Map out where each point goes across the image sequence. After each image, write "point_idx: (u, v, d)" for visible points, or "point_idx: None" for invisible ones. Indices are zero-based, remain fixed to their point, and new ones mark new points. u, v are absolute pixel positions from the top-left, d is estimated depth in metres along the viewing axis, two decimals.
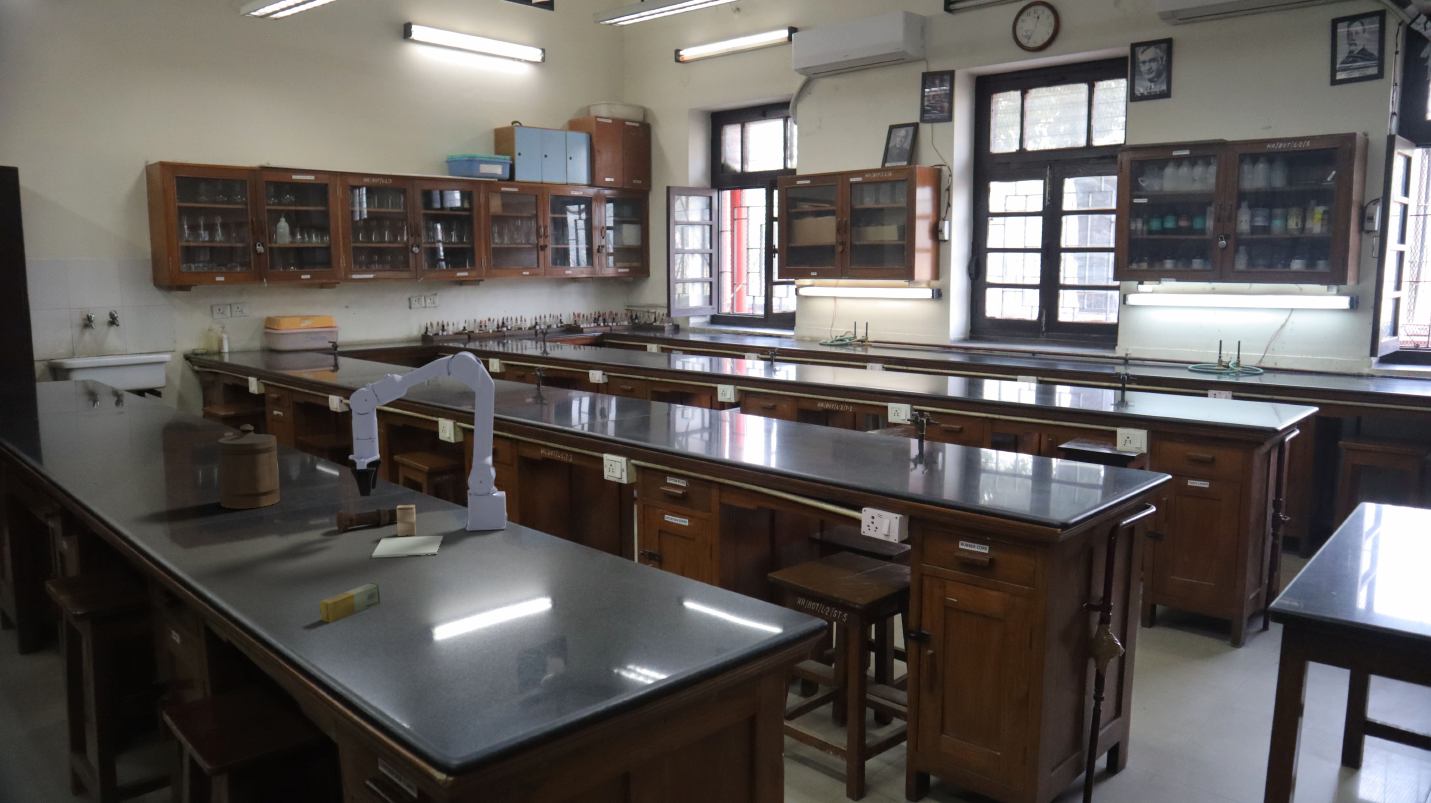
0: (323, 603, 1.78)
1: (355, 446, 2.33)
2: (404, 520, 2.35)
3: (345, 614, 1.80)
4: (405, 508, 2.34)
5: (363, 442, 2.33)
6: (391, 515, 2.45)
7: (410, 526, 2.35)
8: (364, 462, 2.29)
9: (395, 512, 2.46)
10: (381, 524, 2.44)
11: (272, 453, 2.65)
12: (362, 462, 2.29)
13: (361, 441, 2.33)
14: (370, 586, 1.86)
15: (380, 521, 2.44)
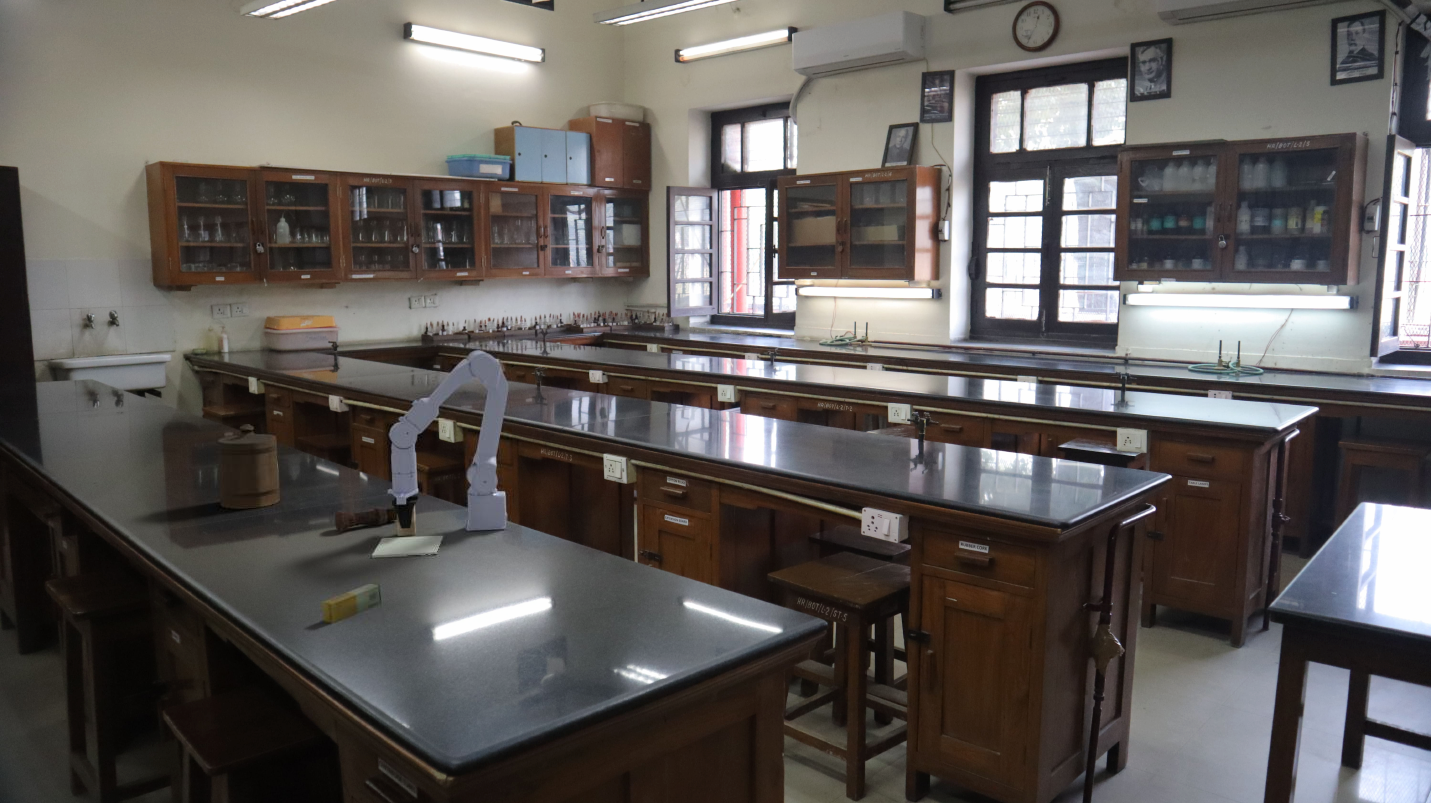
0: (326, 604, 1.77)
1: (394, 481, 2.32)
2: None
3: (347, 614, 1.80)
4: None
5: (403, 476, 2.32)
6: (389, 514, 2.46)
7: None
8: (404, 497, 2.28)
9: (393, 511, 2.47)
10: (380, 523, 2.44)
11: (272, 453, 2.65)
12: (402, 497, 2.28)
13: (400, 476, 2.32)
14: (371, 586, 1.86)
15: (379, 520, 2.44)
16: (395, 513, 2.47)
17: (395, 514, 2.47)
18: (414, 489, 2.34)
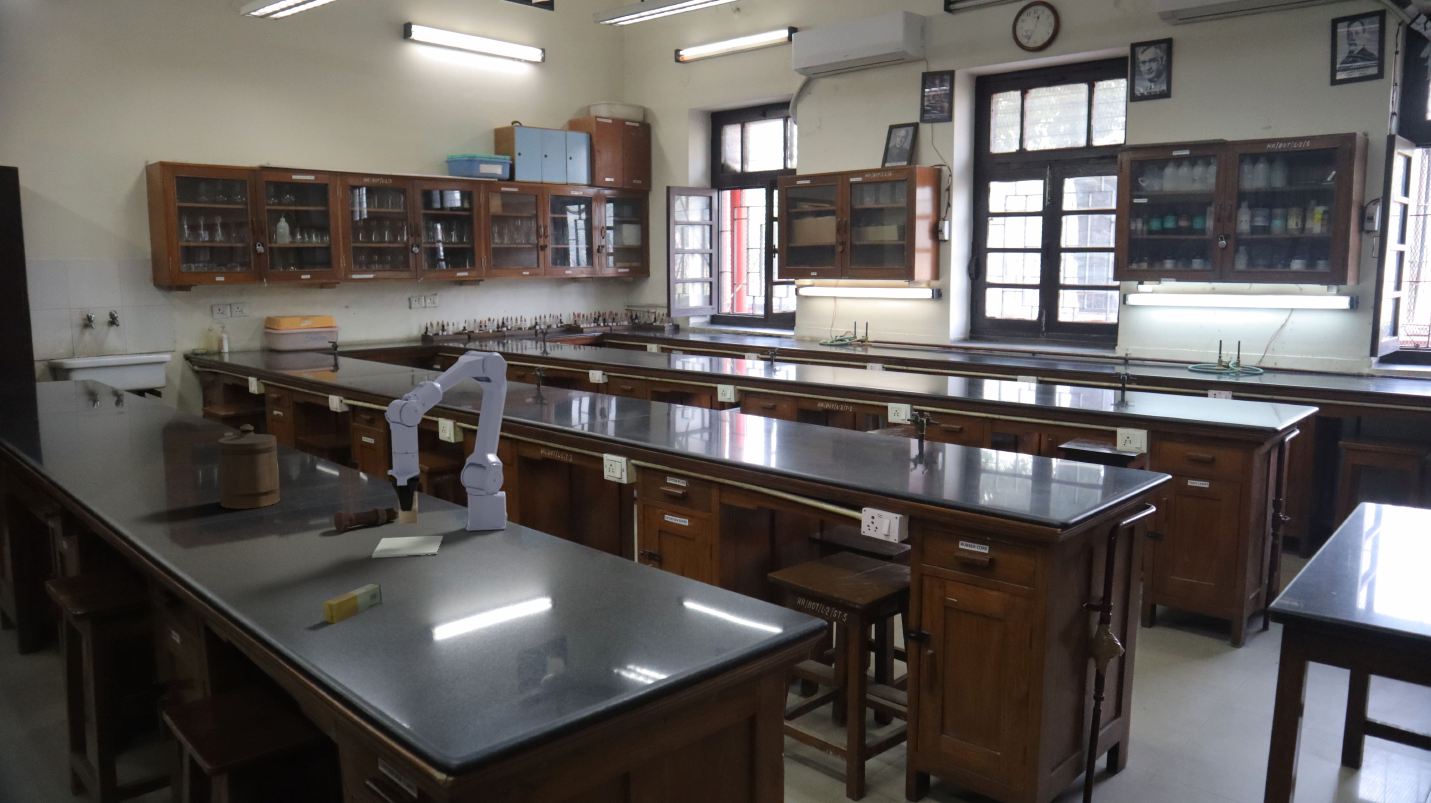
0: (327, 604, 1.77)
1: (395, 461, 2.21)
2: None
3: (348, 614, 1.80)
4: None
5: (403, 456, 2.20)
6: (388, 514, 2.46)
7: (412, 514, 2.24)
8: (405, 478, 2.17)
9: (392, 511, 2.47)
10: (379, 523, 2.45)
11: (272, 453, 2.65)
12: (403, 478, 2.17)
13: (401, 455, 2.20)
14: (372, 586, 1.86)
15: (378, 520, 2.44)
16: (394, 513, 2.47)
17: (394, 514, 2.47)
18: (415, 470, 2.23)
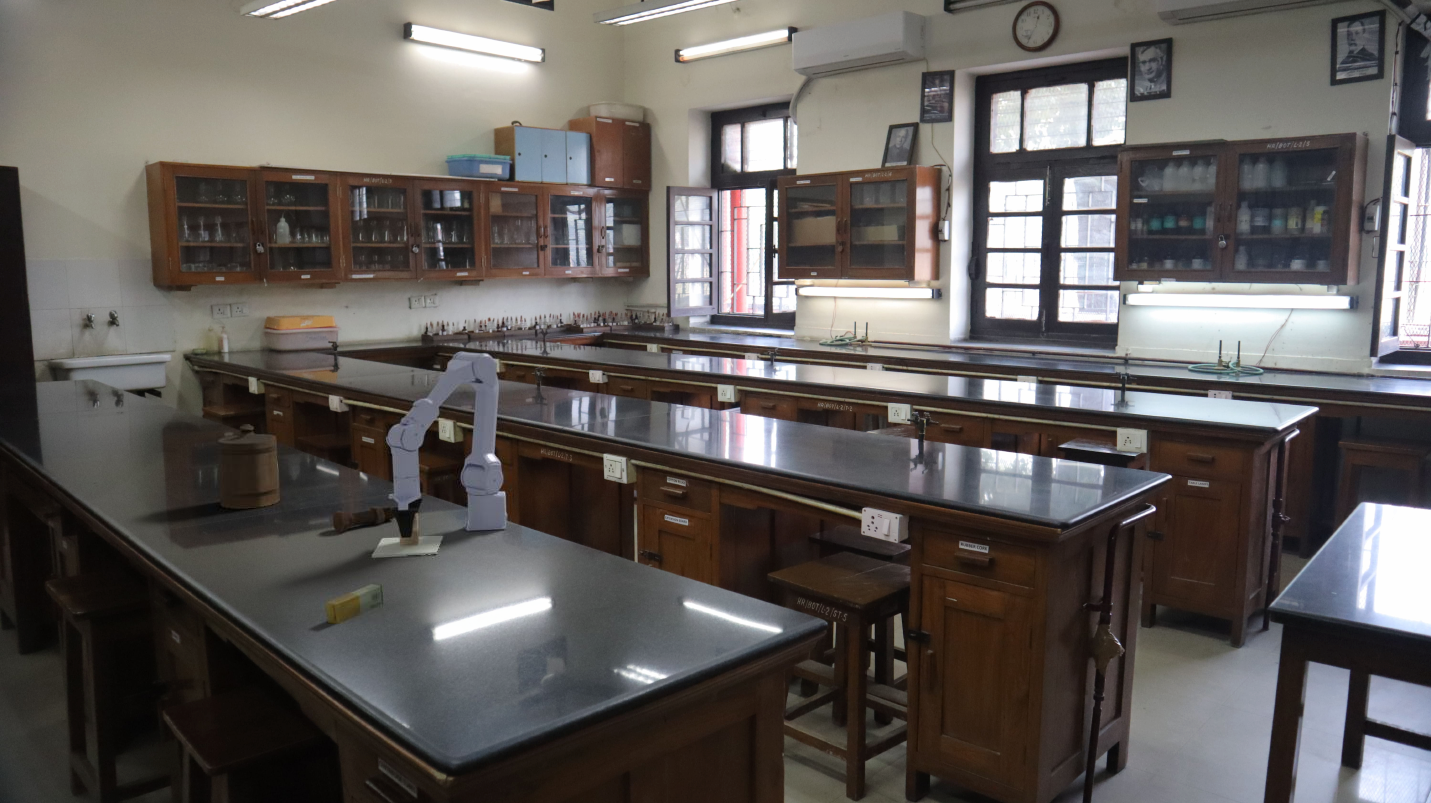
0: (330, 604, 1.77)
1: (396, 485, 2.22)
2: None
3: (351, 615, 1.80)
4: None
5: (405, 481, 2.21)
6: (386, 513, 2.47)
7: (413, 535, 2.25)
8: (406, 503, 2.18)
9: (389, 510, 2.48)
10: (377, 523, 2.45)
11: (272, 453, 2.65)
12: (404, 503, 2.17)
13: (402, 480, 2.21)
14: (374, 587, 1.86)
15: (376, 520, 2.45)
16: None
17: None
18: (416, 494, 2.23)
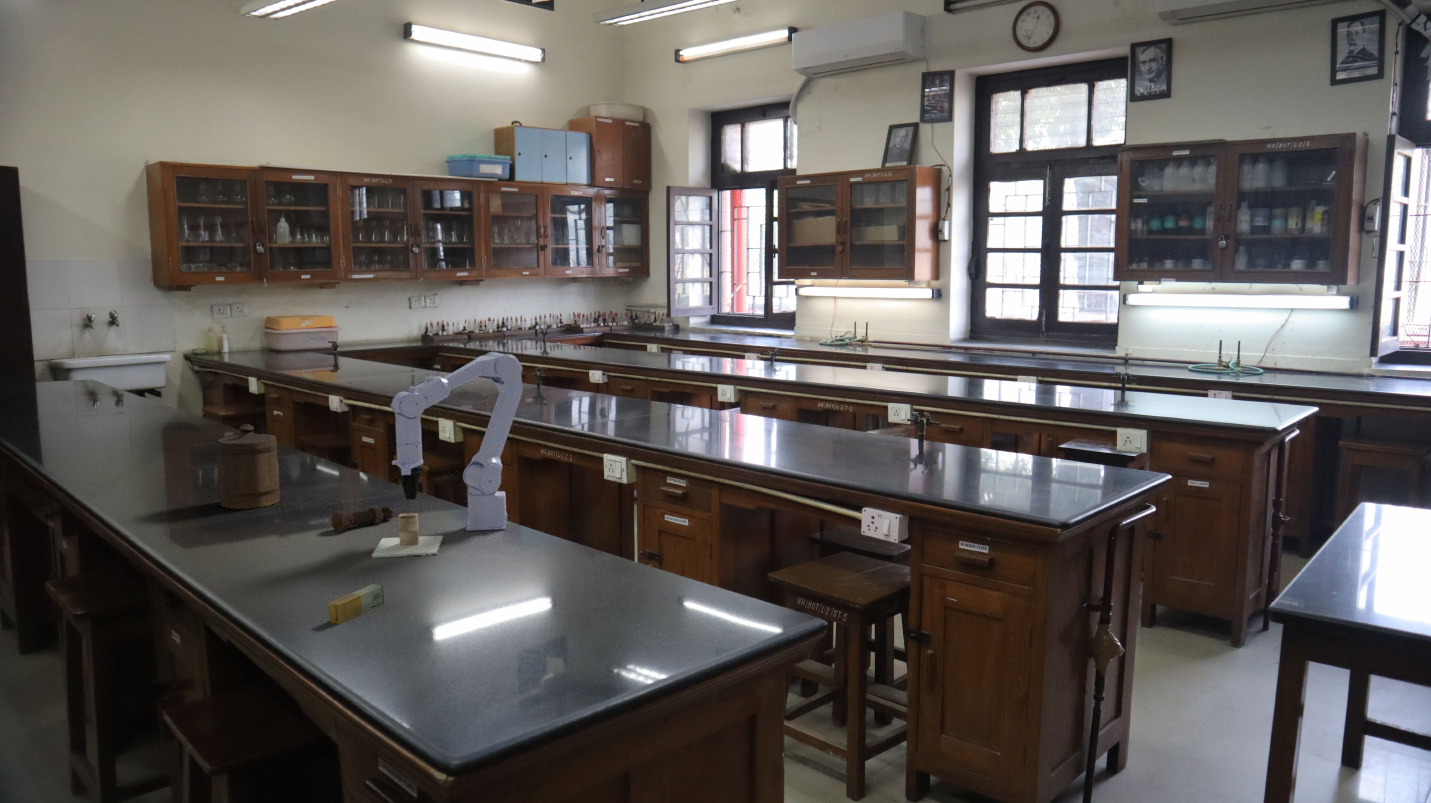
0: (332, 605, 1.77)
1: (399, 451, 2.27)
2: (406, 529, 2.24)
3: (353, 615, 1.80)
4: (407, 517, 2.24)
5: (407, 447, 2.27)
6: (384, 513, 2.47)
7: (413, 535, 2.25)
8: (409, 468, 2.23)
9: (388, 510, 2.48)
10: (376, 522, 2.45)
11: (272, 453, 2.65)
12: (407, 468, 2.23)
13: (405, 446, 2.26)
14: (375, 587, 1.86)
15: (375, 519, 2.45)
16: (390, 512, 2.49)
17: (390, 513, 2.49)
18: (419, 460, 2.29)
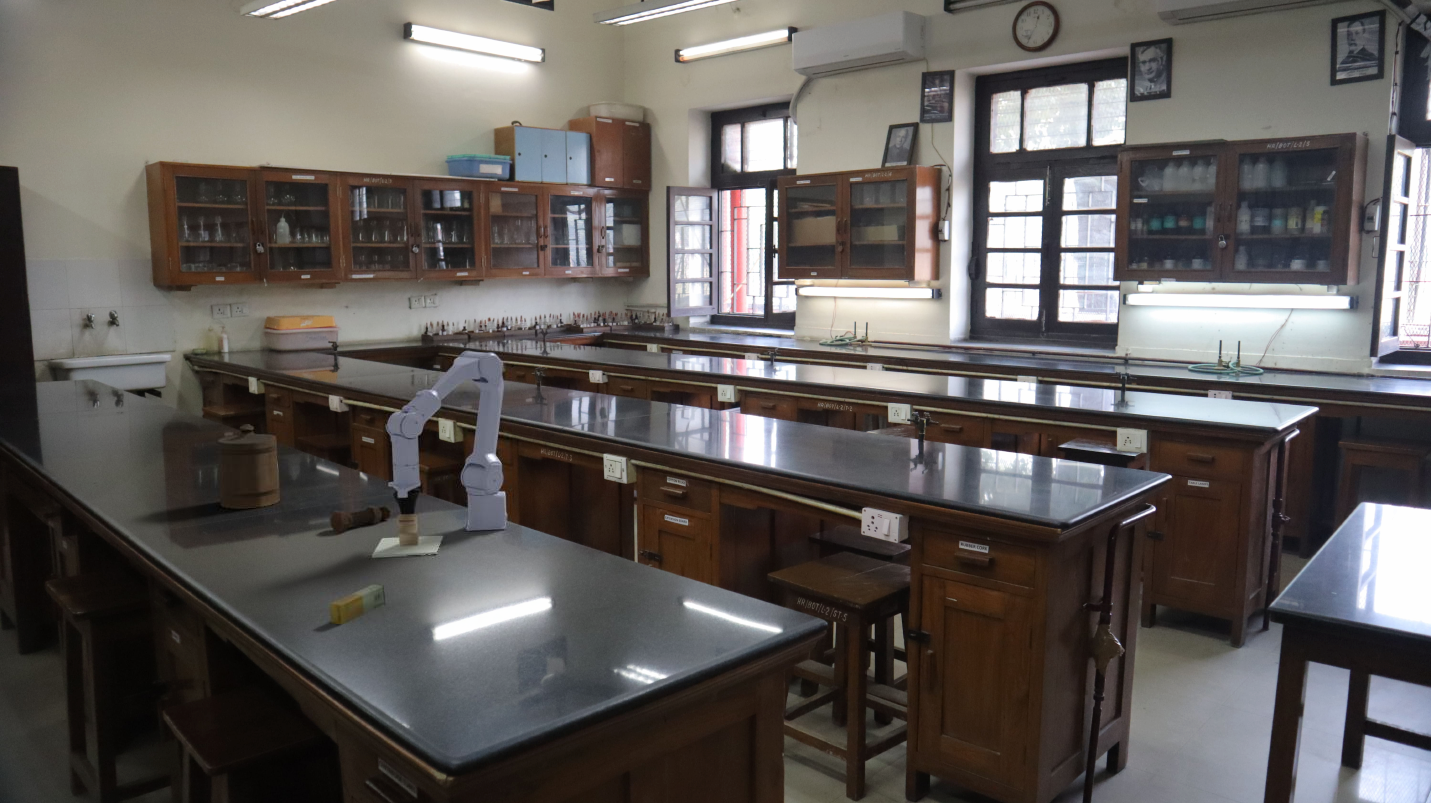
0: (334, 605, 1.77)
1: (395, 473, 2.22)
2: (405, 531, 2.23)
3: (355, 615, 1.80)
4: (406, 520, 2.22)
5: (404, 468, 2.21)
6: (382, 512, 2.48)
7: (412, 537, 2.24)
8: (405, 490, 2.17)
9: (385, 509, 2.49)
10: (374, 522, 2.46)
11: (272, 453, 2.65)
12: (403, 490, 2.17)
13: (402, 468, 2.21)
14: (376, 587, 1.86)
15: (373, 519, 2.45)
16: (387, 511, 2.49)
17: (388, 512, 2.49)
18: (416, 482, 2.23)
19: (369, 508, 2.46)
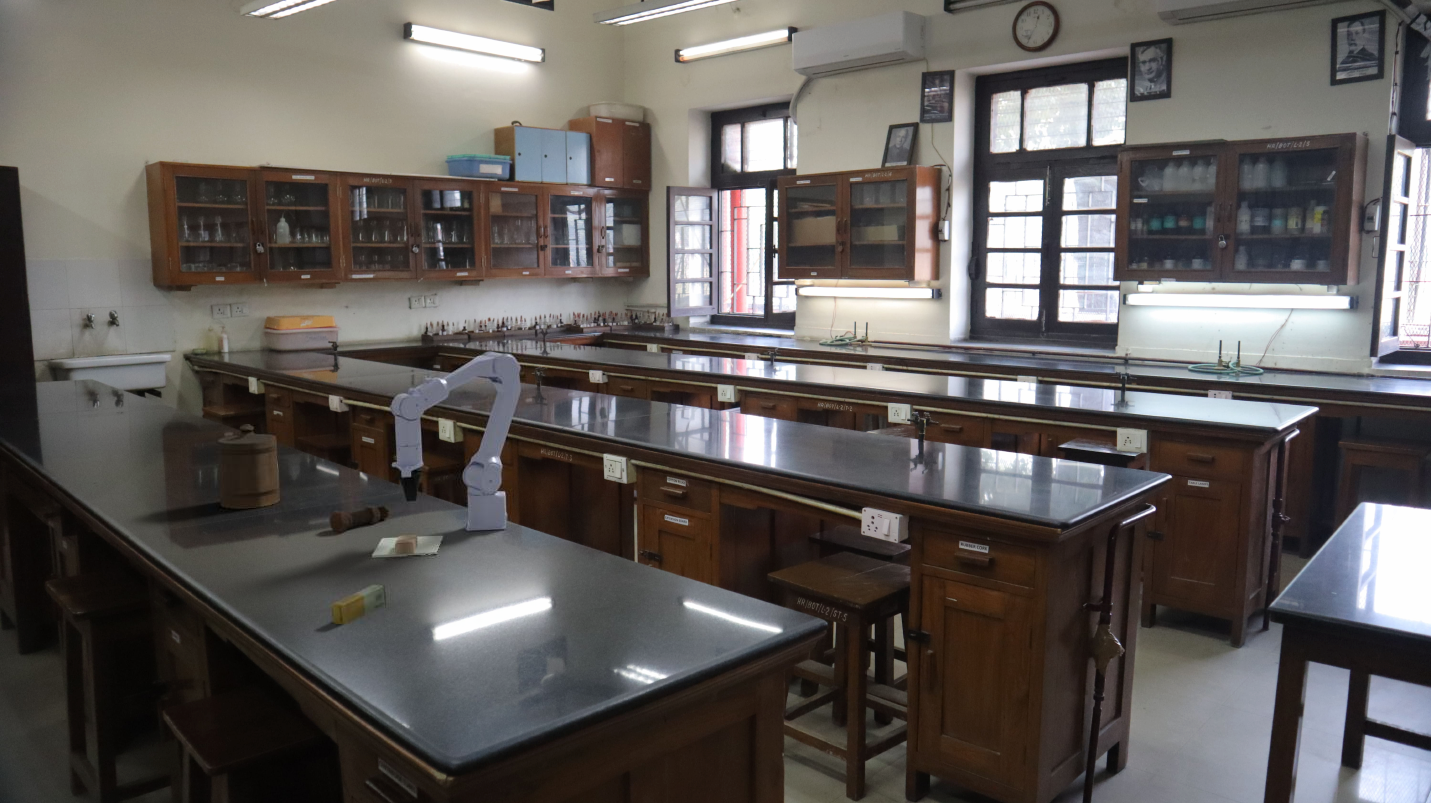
0: (336, 606, 1.76)
1: (399, 453, 2.27)
2: None
3: (356, 615, 1.80)
4: (404, 553, 2.18)
5: (407, 449, 2.26)
6: (381, 512, 2.48)
7: None
8: (409, 470, 2.22)
9: (384, 509, 2.49)
10: (373, 522, 2.46)
11: (272, 453, 2.65)
12: (407, 470, 2.22)
13: (405, 448, 2.26)
14: (377, 587, 1.86)
15: (372, 519, 2.46)
16: (386, 511, 2.49)
17: (386, 512, 2.49)
18: (419, 462, 2.28)
19: (368, 508, 2.46)
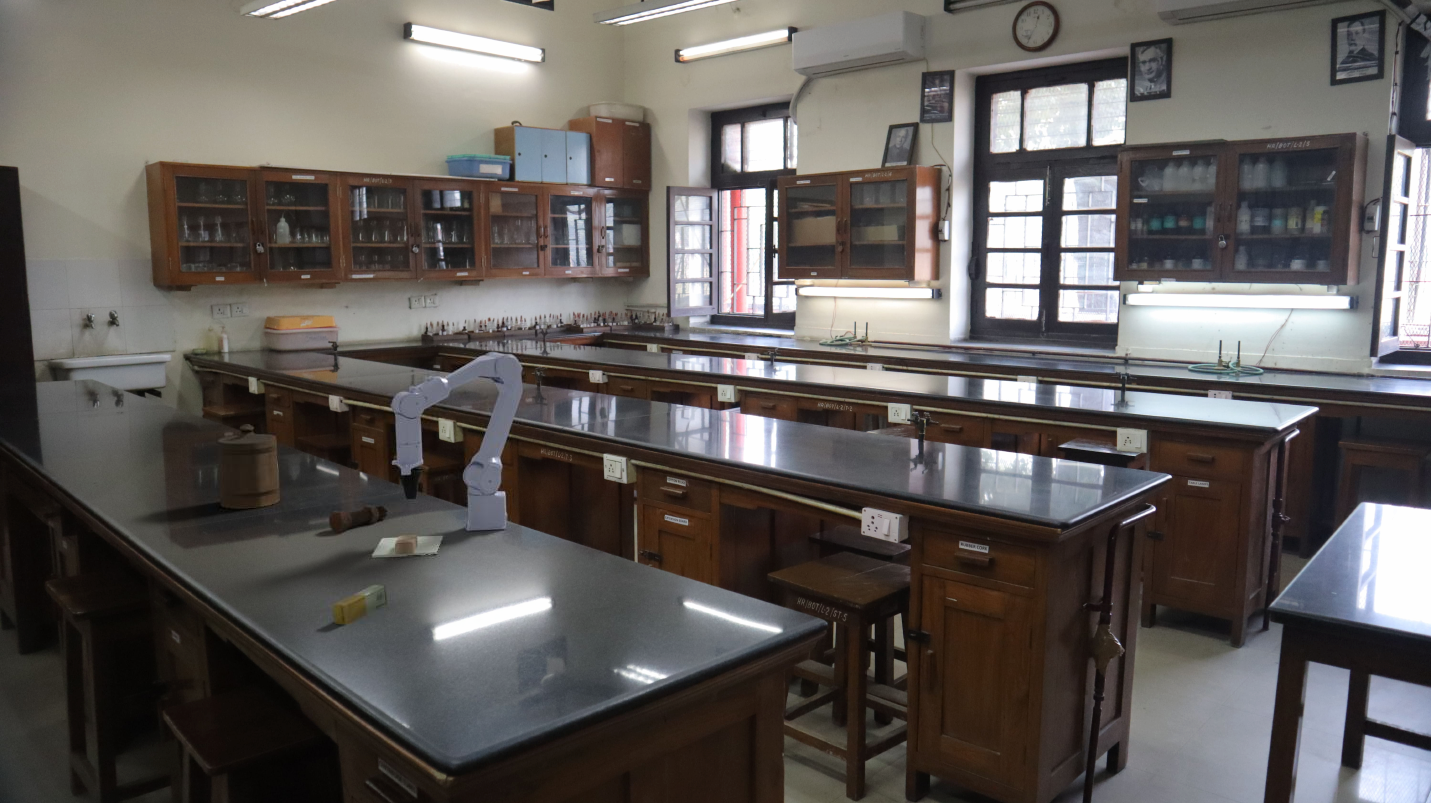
0: (337, 606, 1.76)
1: (399, 451, 2.27)
2: None
3: (358, 616, 1.79)
4: (404, 553, 2.18)
5: (407, 447, 2.27)
6: (379, 512, 2.48)
7: None
8: (409, 468, 2.23)
9: (382, 509, 2.49)
10: (372, 522, 2.46)
11: (272, 453, 2.65)
12: (407, 468, 2.23)
13: (405, 446, 2.26)
14: (378, 587, 1.86)
15: (371, 519, 2.46)
16: (384, 510, 2.50)
17: (384, 511, 2.50)
18: (419, 460, 2.29)
19: (366, 508, 2.46)
